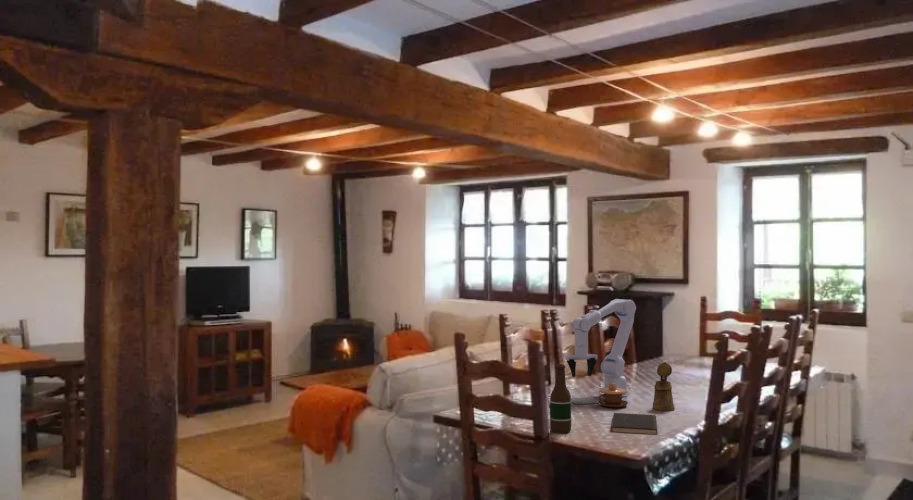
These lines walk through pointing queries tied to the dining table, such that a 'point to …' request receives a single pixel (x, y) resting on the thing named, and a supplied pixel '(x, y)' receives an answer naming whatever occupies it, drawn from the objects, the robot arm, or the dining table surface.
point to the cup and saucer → (612, 400)
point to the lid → (612, 389)
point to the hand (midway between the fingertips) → (581, 376)
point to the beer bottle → (560, 403)
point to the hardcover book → (634, 423)
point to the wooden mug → (663, 389)
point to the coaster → (584, 401)
